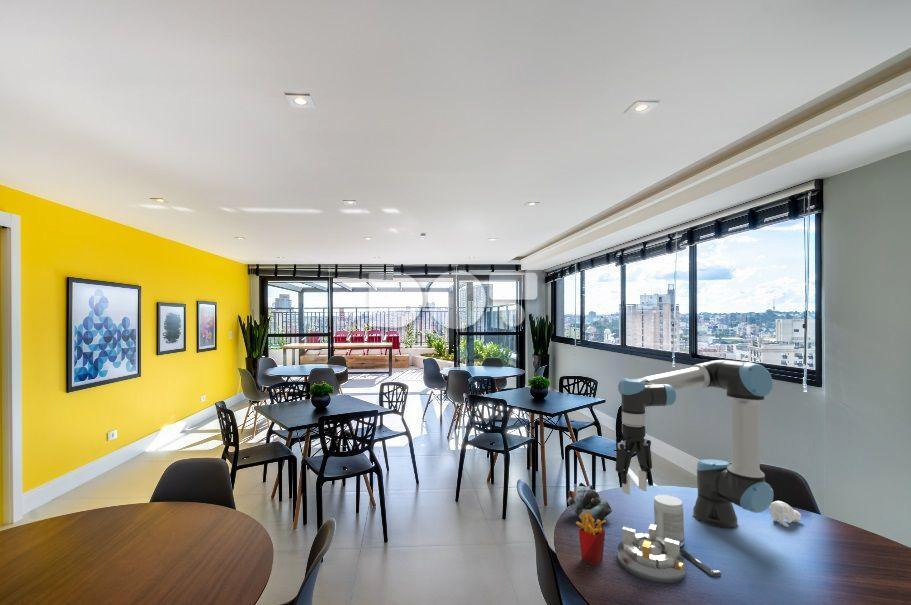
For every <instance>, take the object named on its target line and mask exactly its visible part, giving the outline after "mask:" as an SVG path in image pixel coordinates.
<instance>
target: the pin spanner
mask: <svg viewBox="0 0 911 605" xmlns="http://www.w3.org/2000/svg"><path fill="white" fill-rule="evenodd" d="M680 552H681V553H680V554H682V555H683V556H684V557H685V558H687V559H688V560H689V559H690V560H689V561H690V562H692V563H693V564H695V565H696V566H697V567H699V568H700V569H701V570H703V571H704V572H706V573H707V574H708V575H709V576H711V577H722V576H721V575H722V572H721V570H719V569H715V570H713V569H711V568H710V567H709V566H707V565H706V564H704V563H703V562H702V561H700V560H699V559H698V558H696V557H695V556H693V555H692V554H691V553H690V552H688V551H687V550H686V549H681V550H680Z"/></svg>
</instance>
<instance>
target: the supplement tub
mask: <svg viewBox="0 0 911 605" xmlns="http://www.w3.org/2000/svg"><path fill="white" fill-rule="evenodd" d="M653 513H654V514H653V515H654V516H653V518H654V525H657V537H661V538H662V539H665V538H668V539H671V540H675V541H679V543H680V547H682V546H684V544H685V524H684V522H685V520H684V505H683V501H682V500H681V499H680V498H678V497H676V496H672V495H668V494H657V495H655V496H654V498H653Z"/></svg>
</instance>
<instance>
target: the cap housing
mask: <svg viewBox="0 0 911 605" xmlns="http://www.w3.org/2000/svg"><path fill="white" fill-rule="evenodd" d="M644 540H645V541H649V542H651V555H655V556H656V555H664V554H666V553H665V552H663V551H662V546H661V545H660V544H659V543H657V542H655V541H653V540H648V539H642V540H640V541H639V545H636V546H635V547H636V548H637V549H638V550H639V551H641V552H642V545H643V543H644ZM623 542H624V540H623V539H622V541H620V542H619V543H618V545H617V560H618V562H619V564H620V566H622V567H623V569H625V570H626V571H627V572H629V573H630V574H632V575H633V576H636V577H638V578H640V579H643V580H645V581H649V582H653V583H658V584H674V583H678V582H680V581H682V580H683V579H684V577H685V576H686V562H685V561H686V560H685V559H684V557H683V556H682V555H681V553H680V554H679V556H678V559H677V564H676V566H675V567H670V568H662V569H659V568H658V567H656V568H653V567H650V566H646V565H643V564H640V563H637V561H634V560H633V559H632V558H630V557H629V556H628V555H627V554H626V553H625V552H624V550H623Z"/></svg>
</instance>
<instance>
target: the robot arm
mask: <svg viewBox="0 0 911 605" xmlns="http://www.w3.org/2000/svg"><path fill="white" fill-rule="evenodd" d="M773 385H774V384H773V377H772V375H771V373H770V372H769V370H768V369H767V368H766V367H765V366H763V365H762V364H759V363H755V362H749V361H739V360H728V359H717V360H711V361H706V362H701V363H700V362H699V363H696V364H693V365H691V367H688V368H684V369H679V370H674V371H669V372H663V373H659V374H653V375H648V376H644V377H638V378H631V377H624V378H622V379H620V380H619V382H618V385H617V390H618V392H619V394H620V396H621V422H622V424H621V433H622V435H623V438H622V441H621V442H617V441H616V443H615V446H616V459H615V460H616V461H615V471H616V473H620V483H621V491H622V493H624V494H627V495H630V494H631V493H630V492H631V489H630V474H628V473H629V470H630V465H631V461H632V457H633V456H634V454H635V455H636V458H637V461H638V464H639V467H640V469H638V489H640V490H642V491H644V492H647V480H648V473H650V472H651V469H653V462H652V451H651V450H652V449H651V445H652V440H649V439H647V438H645V437H646V426H645V425H646V407H648V408H649V407H666V406H667V407H669V406H671V405H674V403H675V402H676V400H677V392H676V391H682V390H687V389H692V388H696V387H697V388H700V389H704V388H716V389H722V390H725V391H726V397H727V398H728V399H729V400H730V401H731V402H730V403H731V406H730V407H731V408H730V410H731V414H730V415H731V420H730V421H731V422H730V423H731V463H730V462H728V461H725V460H721V459H711V458H710V459H709V458H708V459H706V458H705V459H701V460H699V461H698V462H697V468H696V479H697V480H696V481H697V483H696V484H697V497H696V500H695V504H694V506H693V508H692V513H693V517H694V518H695V519H697V521H699V522H702V523H703V524H707V525H709V526H711V527H717V528H720V529H721V528H723V529H727V528H728V529H730V528H735V527H737V526H738V515H737V514H736V511H735V507H734V506H733V504H734V505H736V506H738V507H740V508H742V509H744V510H747V511H750V512H752V513H756V514H758V513H763V512H765V511H766V510H767V509H769V506H770V505H771V503H772V502H774V489H773V487H772V486H771V485H770V484H769V483H768V482H766V475H765V472H763V471H762V470H761V468H760V466H761V465H760V458H761V457H760V456H761V455H760V454H761V453H760V404H761V403H762V402H764V400H765V397H766V396H768V395H769V394H770V393H771V390H772V389H773Z"/></svg>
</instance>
